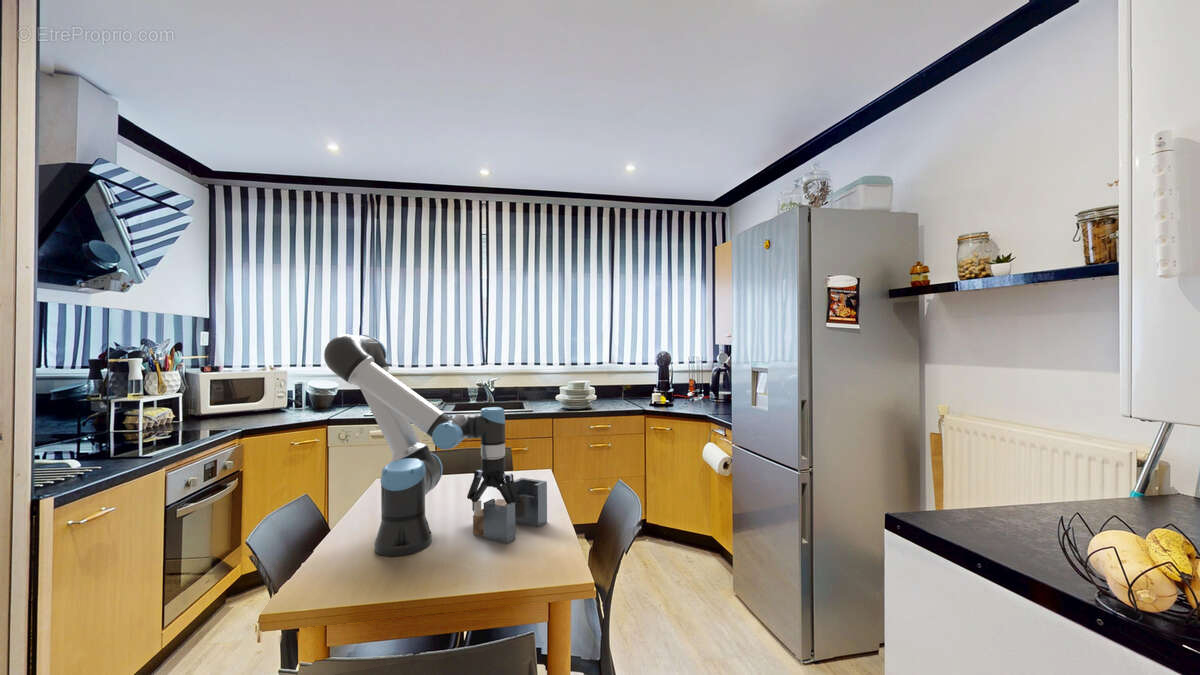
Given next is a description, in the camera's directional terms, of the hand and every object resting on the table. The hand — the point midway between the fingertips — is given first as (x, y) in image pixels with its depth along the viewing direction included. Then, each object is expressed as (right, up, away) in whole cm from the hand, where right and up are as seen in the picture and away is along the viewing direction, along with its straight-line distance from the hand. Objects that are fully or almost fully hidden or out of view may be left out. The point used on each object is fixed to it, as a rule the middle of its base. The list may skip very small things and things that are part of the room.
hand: (493, 525), depth 153 cm
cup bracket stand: (+7, 0, -4) cm, 8 cm away
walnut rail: (0, 0, 0) cm, 0 cm away
